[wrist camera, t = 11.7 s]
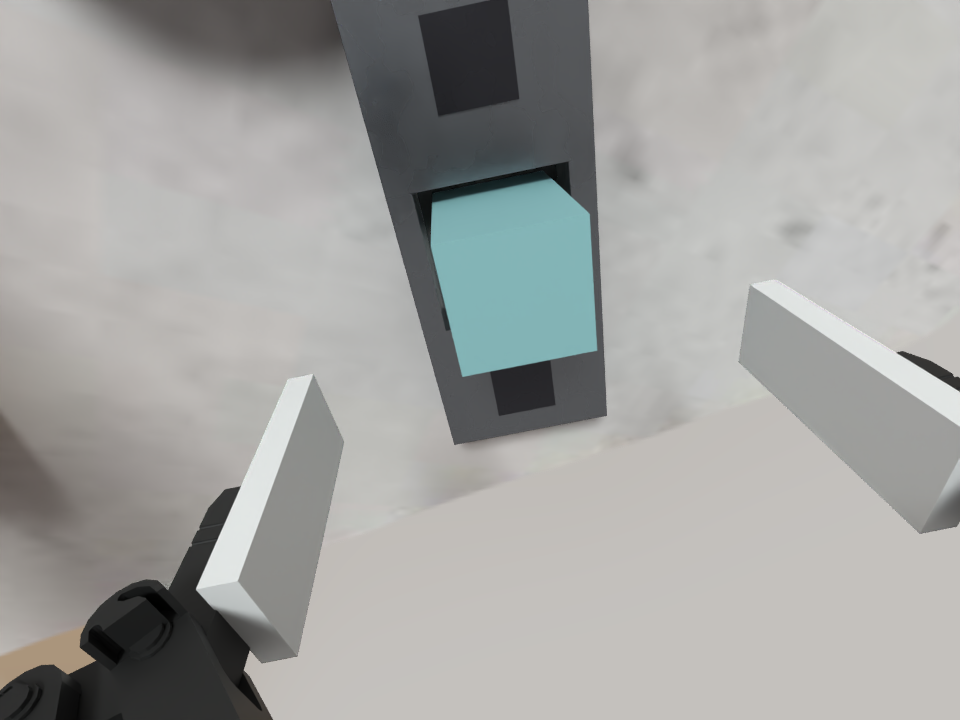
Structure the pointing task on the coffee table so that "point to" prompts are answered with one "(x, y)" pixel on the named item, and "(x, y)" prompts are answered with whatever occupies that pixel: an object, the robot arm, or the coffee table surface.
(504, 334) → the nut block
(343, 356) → the coffee table surface
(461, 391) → the grey flat slotted block
